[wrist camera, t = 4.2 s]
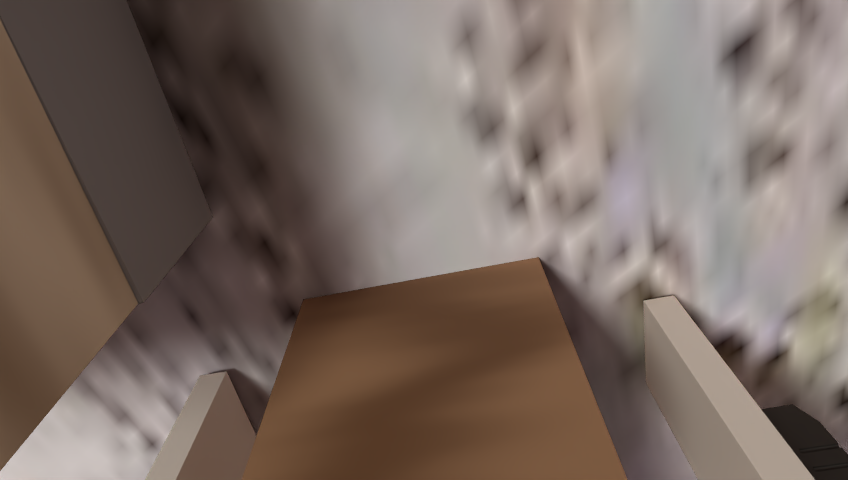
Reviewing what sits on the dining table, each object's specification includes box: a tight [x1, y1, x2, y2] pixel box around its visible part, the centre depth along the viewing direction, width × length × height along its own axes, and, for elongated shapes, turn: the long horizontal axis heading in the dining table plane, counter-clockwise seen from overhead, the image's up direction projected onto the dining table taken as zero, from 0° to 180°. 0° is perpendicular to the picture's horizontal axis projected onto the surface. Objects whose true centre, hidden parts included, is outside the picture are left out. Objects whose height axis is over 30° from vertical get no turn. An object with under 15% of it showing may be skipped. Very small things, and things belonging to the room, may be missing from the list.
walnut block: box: [242, 257, 628, 480], centre depth 12 cm, size 6×6×7 cm
